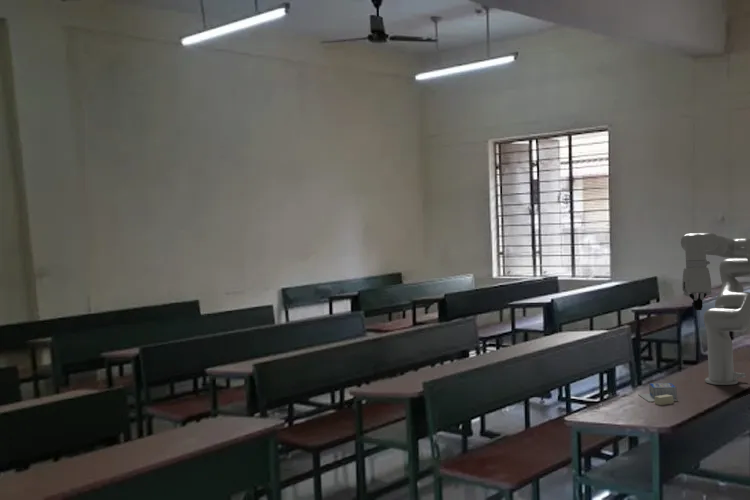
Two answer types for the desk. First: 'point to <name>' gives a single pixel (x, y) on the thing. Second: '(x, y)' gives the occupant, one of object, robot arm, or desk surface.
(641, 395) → the mat
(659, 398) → the pale yellow faceted block
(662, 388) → the medicine box
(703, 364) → the desk surface
